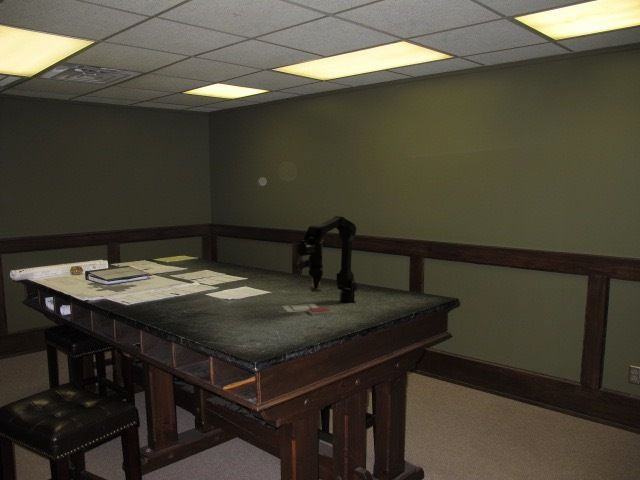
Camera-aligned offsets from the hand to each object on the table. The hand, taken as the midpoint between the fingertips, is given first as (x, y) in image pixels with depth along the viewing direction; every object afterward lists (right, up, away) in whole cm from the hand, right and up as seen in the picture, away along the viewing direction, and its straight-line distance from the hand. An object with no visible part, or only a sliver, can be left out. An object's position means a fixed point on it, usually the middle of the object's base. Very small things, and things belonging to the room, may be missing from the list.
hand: (315, 287), depth 233 cm
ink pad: (+2, -12, 0) cm, 12 cm away
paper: (-7, -11, +7) cm, 15 cm away
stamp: (0, -2, 0) cm, 2 cm away
